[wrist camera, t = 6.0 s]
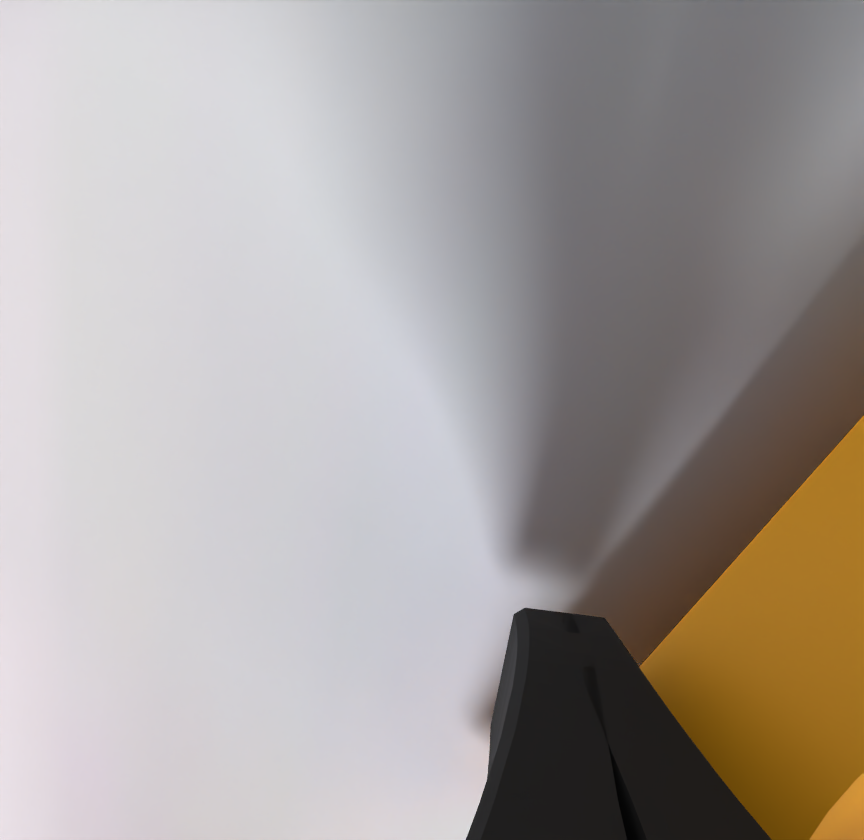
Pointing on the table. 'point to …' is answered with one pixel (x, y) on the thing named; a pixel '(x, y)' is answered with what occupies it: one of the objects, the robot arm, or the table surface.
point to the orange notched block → (784, 661)
